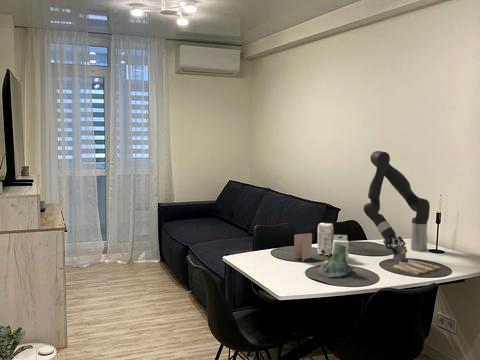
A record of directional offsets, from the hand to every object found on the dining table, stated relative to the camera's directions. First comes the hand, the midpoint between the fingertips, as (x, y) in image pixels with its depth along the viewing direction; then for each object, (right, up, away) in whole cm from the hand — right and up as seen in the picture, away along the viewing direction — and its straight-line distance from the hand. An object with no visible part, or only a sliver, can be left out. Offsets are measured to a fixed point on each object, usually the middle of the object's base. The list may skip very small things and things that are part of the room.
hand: (401, 253), depth 269 cm
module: (-1, -5, +2) cm, 5 cm away
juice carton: (-42, -3, +17) cm, 45 cm away
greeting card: (-56, -5, +4) cm, 56 cm away
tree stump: (-44, -7, -21) cm, 49 cm away
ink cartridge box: (-35, -5, +3) cm, 36 cm away
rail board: (+3, -6, -14) cm, 15 cm away
